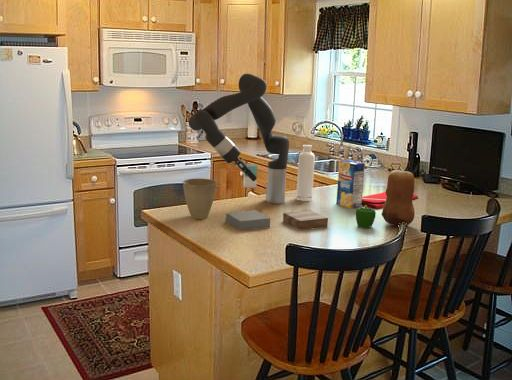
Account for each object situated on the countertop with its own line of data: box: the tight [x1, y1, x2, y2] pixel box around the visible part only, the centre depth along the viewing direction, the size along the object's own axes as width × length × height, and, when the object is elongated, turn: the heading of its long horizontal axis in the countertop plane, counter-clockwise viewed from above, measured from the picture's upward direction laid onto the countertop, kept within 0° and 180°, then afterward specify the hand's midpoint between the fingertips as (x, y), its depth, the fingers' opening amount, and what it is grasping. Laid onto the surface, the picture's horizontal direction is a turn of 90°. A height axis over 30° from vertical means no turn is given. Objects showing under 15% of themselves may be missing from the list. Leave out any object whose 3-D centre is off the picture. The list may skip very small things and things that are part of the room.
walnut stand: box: [282, 209, 329, 231], centre depth 253 cm, size 14×14×4 cm
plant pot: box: [182, 177, 218, 220], centre depth 255 cm, size 15×15×16 cm
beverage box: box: [336, 159, 366, 209], centre depth 288 cm, size 7×11×22 cm, turn 35°
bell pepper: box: [355, 205, 377, 229], centre depth 252 cm, size 8×8×10 cm
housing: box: [242, 163, 258, 188], centre depth 244 cm, size 5×5×9 cm
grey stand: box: [225, 209, 271, 231], centre depth 248 cm, size 14×14×4 cm
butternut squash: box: [381, 169, 415, 228], centre depth 254 cm, size 14×13×25 cm
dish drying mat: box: [361, 191, 419, 210], centre depth 303 cm, size 16×41×4 cm, turn 136°
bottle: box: [295, 144, 316, 202], centre depth 296 cm, size 8×8×28 cm
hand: (254, 178), depth 244 cm, fingers closed on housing, 5 cm apart
